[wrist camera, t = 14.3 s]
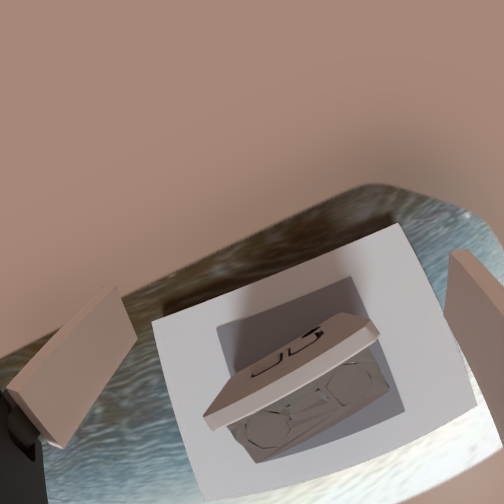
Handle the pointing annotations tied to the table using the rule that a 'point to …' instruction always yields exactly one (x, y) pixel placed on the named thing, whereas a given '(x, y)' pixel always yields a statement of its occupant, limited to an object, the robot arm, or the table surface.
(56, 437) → the robot arm
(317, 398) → the electrical switch
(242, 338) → the mounting board
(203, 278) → the table surface
